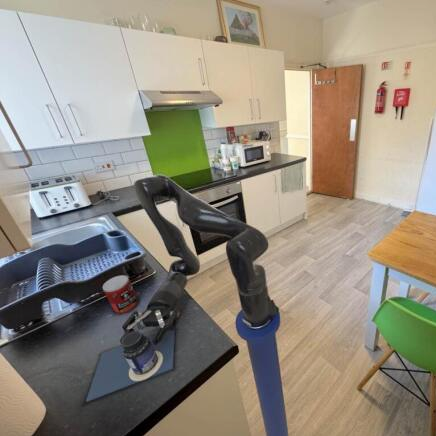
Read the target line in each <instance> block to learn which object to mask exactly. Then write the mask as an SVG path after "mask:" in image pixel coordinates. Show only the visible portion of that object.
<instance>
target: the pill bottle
mask: <svg viewBox="0 0 436 436" xmlns="http://www.w3.org/2000/svg"><path fill="white" fill-rule="evenodd" d="M148 337H149V336H146V335H144V334H143V332H142V330H139V331H133V332H131V333H129V334H128V335H126V336H125V337H124V338H123V340H122V345H121V346H123V348H124V349H123V355H124V357H125V358H126V360H127V362H128V363H129V365H130V367H131V368H132V370H133V372H134V373H135V374H137V375H141V374H145V373H147V372H149V371H150V370H151V369H152V368H154V366H155V365H156V363H157V360H158V356H157V354H156V352H155V350H154V348H153V346H152V344H151V342H150V340H149V338H148Z"/></svg>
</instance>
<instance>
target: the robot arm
mask: <svg viewBox="0 0 436 436" xmlns="http://www.w3.org/2000/svg"><path fill="white" fill-rule="evenodd" d="M133 191H134V194H135V196H136V198H137V200H138V201H139V202H138V203H140V205H141V207H142V208H143V210H144V211H145V214H146V215H147V216H148V218H149V219H150V220H151V223H152V224H153V226H154V227H155V228H156V231H157V232H158V235H160V237H161V240H162V242H163V245H164V247H165V250H166V252H167V253H168V255H169V256H170V257H173V258H179V259H175V260H174V261H172V262H171V263H170V265H169V269H168V274H167V276H166V278H165V280H164V282H162V284H161V285H160V286H159V288H158V289H157V290H156V291H155V293H154V295H152V298H151V299H150V300H149V302H148V303H147V306H146V309H145V310H144V311H142V312H138V311H137V310H134V311H133V312H132V313H131V314H130V315H129V317H128V318H127V319H126V321H125V322H124V323H123V324H122V326H121V328H122V330H123V332H124V334H123V335H122V336H121V338H120V339H119V342H120V345H121V346H122V340H123V338H124V337H125V336H126V335H128V334H129V333H131V332H133V331H142V330H144V329H145V328H149V327H155V328H156V327H158V326H159V327H158V328H157V330H156V331H155V334H154V337H153V339H152V342H153V344H154V345H157V344H158V342H160V341H161V339H162V337H163V336H164V334H165V333H166V332H167V331H169V330H170V331H173V330H174V328H176V326H177V324H178V321H179V319H180V317H181V314H180V311H179V309H178V308H176V306H177V304H178V302H179V300H180V299H181V296H182V293H183V292H184V290H185V288H186V287H187V284H188V277H189V276H195V275H197V274H198V273H199V272H200V268H201V264H200V260H199V258H198V257H197V256H196V255H195V253H194V252H193V251H192V250H191V248H190V247H189V246H188V244H187V241H186V238H185V237H184V234H183V231H182V230H181V228H180V227H179V226H177V224H175V223H173V222H172V221H171V220H170V219H168V218H166V216H164V214H162V213H161V212H160V210H159V209H158V206H157V204H159V203H161V202H164V201H171V202H173V203H175V204H176V205H175V206H176V211H177V216H178V218H179V220H180V221H181V222H182V223H183V224H185V225H186V226H188V227H189V228H190V229H192V230H195V231H196V232H199V233H203V234H207V235H208V234H209V235H218V236H223V237H228V238H230V239H229V240H227V242H226V244H225V252H226V253H225V254H226V257H227V260H228V264H229V268H230V271H231V274H232V276H233V278H234V280H235V283H236V284H235V285H236V288H237V293H238V298H239V302H240V303H239V304H240V307H241V310H242V313H243V318H244V319H243V318H242V319H243V322H244V324H245V325H246V327H248V328H249V329H252V330H259V329H262V328H264V327H266V326H267V325H268V324H269V323H270V321H272V320H273V315H277V313H278V311H279V312H280V308H279V307H278V306H277V305H276V303H275V301H274V299H271V296H270V295H269V289H268V280H267V273H266V270H265V267H264V266H263V265H261V264H259V263H256V261H257V260H258V259H260V258H261V257H262V256H263V255H264V254H265V253H266V252H267V251H268V250H269V245H270V244H269V240H268V238H267V237H266V235H265V234H264V233H263V232H262V231H261V230H259V229H258V228H256V227H254V226H253V225H250V224H248V223H245V222H243V221H241V220H238V219H236V218H234V217H232V216H230V215H228V214H227V213H226V212H223V211H221V210H219V209H218V208H216V207H214V206H213V205H211V204H210V203H208V202H206V201H204V200H203V199H201V198H198V197H197V196H195V195H194V194H192V193H190V192H189V191H187V190H186V189H184V188H183V187H182V186H180V185H179V184H177V183H176V182H175V181H173V180H172V179H171V178H169V177H168V176H166V175H164V174H155V175H150V176H146V177H143V178H139V179H136V180H135V181H134V182H133ZM168 319H169V320H168ZM166 320H168V321H167V323H165V322H166ZM141 322H142V324H141Z"/></svg>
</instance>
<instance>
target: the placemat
mask: <svg viewBox="0 0 436 436" xmlns="http://www.w3.org/2000/svg"><path fill="white" fill-rule="evenodd" d="M175 328H176V327H175ZM175 328H174V330H173V331H170V330H169V331H167V332H166V333H165V334H164V336H163V337H162V339H161V341H160V342H158V344H157V345H154V344H153V342H152V339H153V337H154V335H155V334H154V335H150V336H147V337H148V338H149V340H150V342H151V344H152V346H153V348H154V350H155V352H156V354H157V356H158V360H157V363H156V365H155V366H154V368H152V369H151V370H150V371H149V372H147V373H145V374H141V375H137V374H135V373H134V372H133V370H132V368H131V367H130V365H129V363H128V362H127V360H126V358H125V357H124V355H123V349H124V348H123V346H122V345H121V346H117V347H114V348H112V349H109V350H105V351H103V352H101V355H100V358H99V361H98V363H97V367H96V370H95V372H94V375H93V378H92V381H91V384H90V387H89V390H88V393H87V396H86V399H85V402H86V403H89V402H91V401H93V400H97V399H98V398H101V397H104V396H106V395H109V394H112V393H115V392H118V391H119V390H122V389H125V388H127V387H130V386H132V385H135V384H138V383H140V382H143V381H145V380H148V379H151V378H154V377H156V376H158V375H161V374H163V373H166V372H168V371H171V370H173V369H174V360H175V341H176V340H175V339H176V338H175V337H176V329H175Z"/></svg>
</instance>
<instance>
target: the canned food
mask: <svg viewBox="0 0 436 436" xmlns="http://www.w3.org/2000/svg"><path fill="white" fill-rule="evenodd" d="M102 290H103V293H104V294H105V296H106V298H107V300H108V302H109V303H110V306H111V307H112V309H113V311H114V312H116V313H117V314H125V313H129V312H130V311H132V310H133V309H134V308H136V307H137V306H138V303H139V299H138V296H137V294H136V292H135V290H134V287H133V285H132V283H131V280H130V278H129V277H128V276H127V275H124V274H123V275H117V276H114V277H112V278H109V279H108V280H107V281H105V282H104V283H103V285H102Z"/></svg>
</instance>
